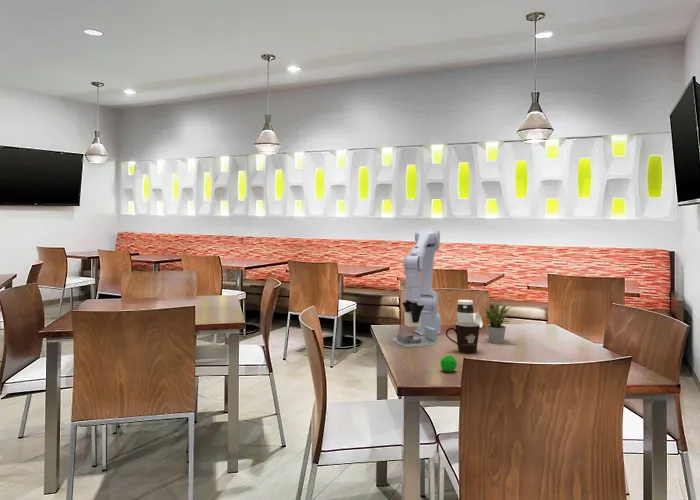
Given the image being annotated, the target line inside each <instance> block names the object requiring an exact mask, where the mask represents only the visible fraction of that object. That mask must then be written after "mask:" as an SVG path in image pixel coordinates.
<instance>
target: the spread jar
mask: <svg viewBox="0 0 700 500" xmlns="http://www.w3.org/2000/svg"><path fill="white" fill-rule="evenodd" d="M458 322H473V323H478V324H480V328H479V329H481V328H483V321H482V316H481V315H480V313H479V312H475V307H474V300H471V299H458V300H457V306H456V323H458Z"/></svg>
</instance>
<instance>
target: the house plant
mask: <svg viewBox="0 0 700 500" xmlns="http://www.w3.org/2000/svg"><path fill="white" fill-rule="evenodd" d="M482 305H483V306H484V307H483V306H482V308H483V309H484V310H485V314H486V315H482V317H484V318H486V319H485V321H486V322H488V323H489V324H487V325H486V326H487V327H486V329H487V336H488V340H489V341H488V342H489V343H491V344H496V345H500V344H503V343H504V340H505V339H504V338H505V333H506V328H507V327H506V325H502V324H503V323H506V322H508V323H510V321H509V320H511V318H509V317H508V318H507V316H508V314H507V312H508V311H509V310H510V309H511V308H517V307H518V306H516V305H513V306H511V307H509V308H508V307H507V306H508V305H509V303H507V304H505V305H503V306H502V307H501V309H500V312H499V307H498V305H497V304H496V302H494V303H493V309H492V310H491V308H489V306H487V305H486V304H484V303H483V304H482ZM485 307H486V308H485ZM487 319H488V320H489V321H488V320H487ZM483 321H484V319H483V320H482V322H483Z"/></svg>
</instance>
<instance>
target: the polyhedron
mask: <svg viewBox="0 0 700 500" xmlns="http://www.w3.org/2000/svg"><path fill="white" fill-rule="evenodd" d="M440 367H441V369H442V370H443V371H445V372H447V373H450V372H454V371H455V370H456V369H457V360H456V358H455V357H453V356H452V355H445V356H444V357H442V358H441V360H440Z"/></svg>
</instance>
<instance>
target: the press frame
mask: <svg viewBox="0 0 700 500" xmlns="http://www.w3.org/2000/svg"><path fill="white" fill-rule="evenodd" d="M392 342H394V343H395V344H398V345H399V346H401V347H403V348H413V347H414V348H415V347H426V346H427V345H428V346H437V345H439V341H437V340H430V339H428V338H426V337H424V335H418V336H414V335H413V334H412V335H404V334H402V333H397V334H396V337H392Z"/></svg>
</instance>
